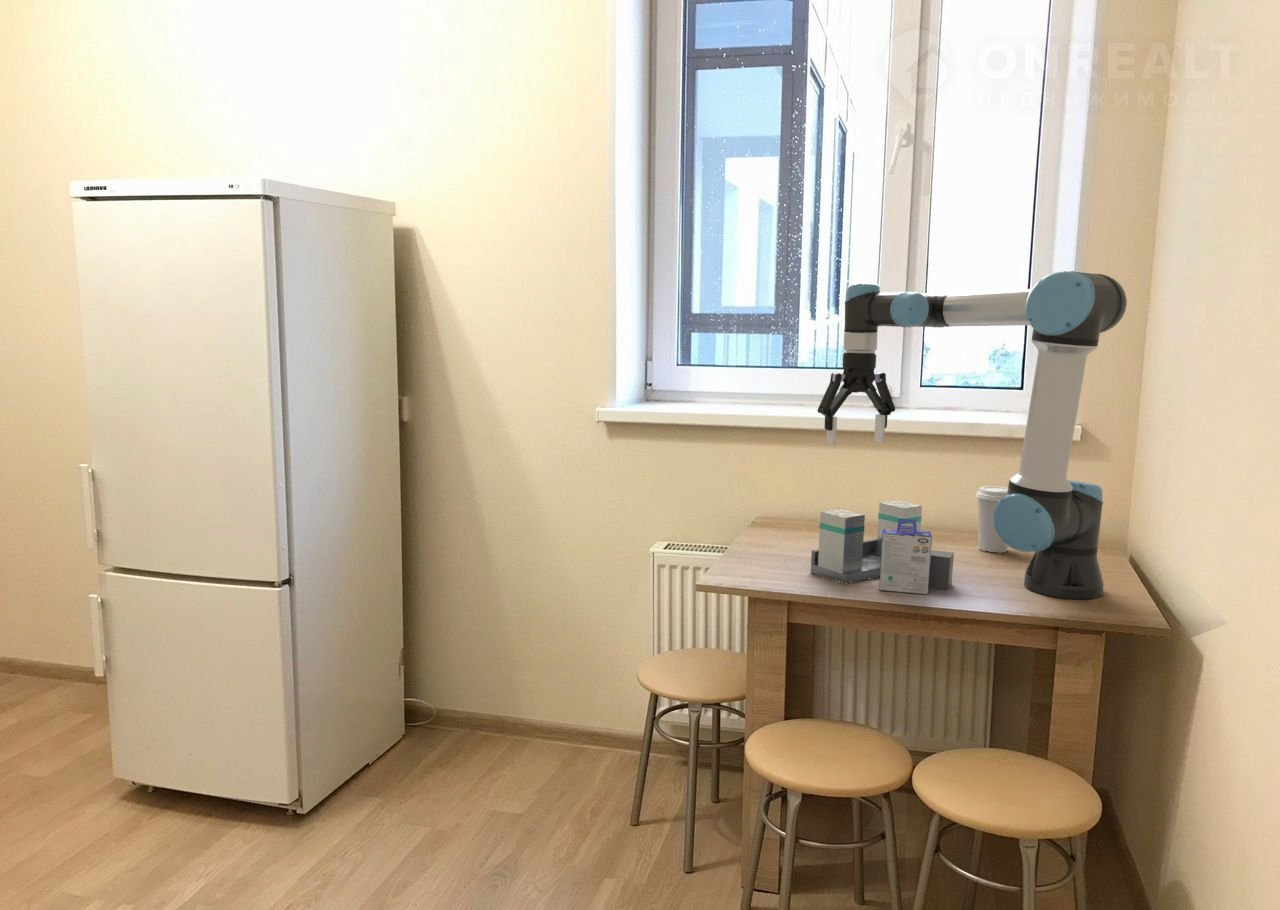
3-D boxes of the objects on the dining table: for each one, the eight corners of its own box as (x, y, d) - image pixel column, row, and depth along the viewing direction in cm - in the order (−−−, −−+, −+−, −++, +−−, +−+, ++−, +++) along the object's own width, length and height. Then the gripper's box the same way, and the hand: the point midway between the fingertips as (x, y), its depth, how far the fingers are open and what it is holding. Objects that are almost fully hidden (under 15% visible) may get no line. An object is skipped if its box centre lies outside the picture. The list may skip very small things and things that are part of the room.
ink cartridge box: (927, 587, 198) (932, 519, 196) (929, 595, 192) (934, 525, 190) (878, 583, 200) (882, 516, 198) (879, 591, 195) (883, 522, 192)
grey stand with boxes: (921, 567, 214) (925, 506, 212) (845, 584, 199) (849, 518, 197) (886, 557, 222) (889, 498, 219) (810, 572, 207) (813, 510, 205)
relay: (947, 590, 196) (950, 557, 195) (913, 585, 199) (915, 553, 198) (951, 584, 201) (953, 552, 200) (917, 580, 204) (919, 548, 203)
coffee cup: (984, 555, 226) (989, 493, 223) (964, 545, 235) (969, 485, 233) (1021, 554, 227) (1026, 492, 225) (1000, 544, 236) (1005, 485, 234)
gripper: (892, 351, 227) (888, 439, 230) (804, 351, 217) (801, 443, 220) (913, 352, 220) (908, 443, 223) (823, 352, 210) (819, 447, 213)
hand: (855, 443), depth 222 cm, fingers open, 13 cm apart
